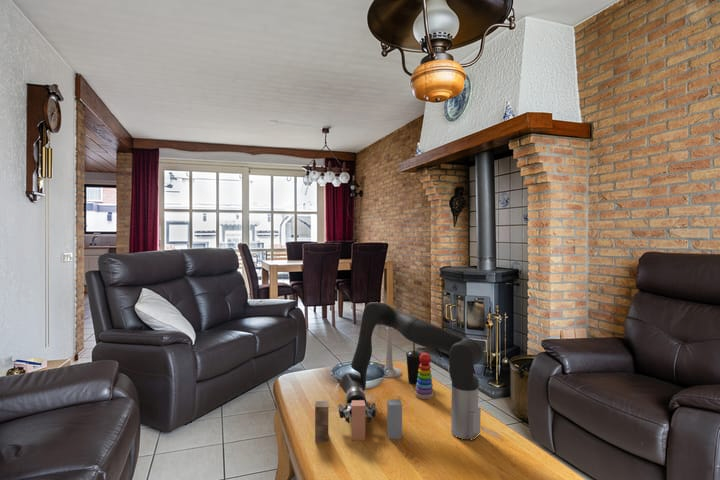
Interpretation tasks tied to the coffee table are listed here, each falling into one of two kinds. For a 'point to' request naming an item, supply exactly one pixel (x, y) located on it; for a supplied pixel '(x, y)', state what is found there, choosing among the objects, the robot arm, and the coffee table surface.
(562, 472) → the coffee table surface
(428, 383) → the stacking toy
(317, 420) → the pillar walnut
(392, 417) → the pillar slate
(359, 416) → the pillar terracotta
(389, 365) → the candlestick
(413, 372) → the drinking cup
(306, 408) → the coffee table surface
